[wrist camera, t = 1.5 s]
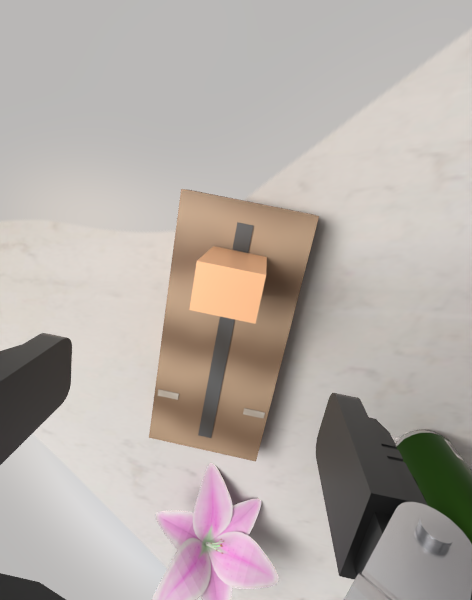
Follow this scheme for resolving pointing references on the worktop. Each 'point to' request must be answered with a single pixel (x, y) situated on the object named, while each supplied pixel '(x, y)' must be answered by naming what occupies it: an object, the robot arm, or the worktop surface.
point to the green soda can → (440, 475)
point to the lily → (213, 546)
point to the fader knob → (229, 284)
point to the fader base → (227, 326)
